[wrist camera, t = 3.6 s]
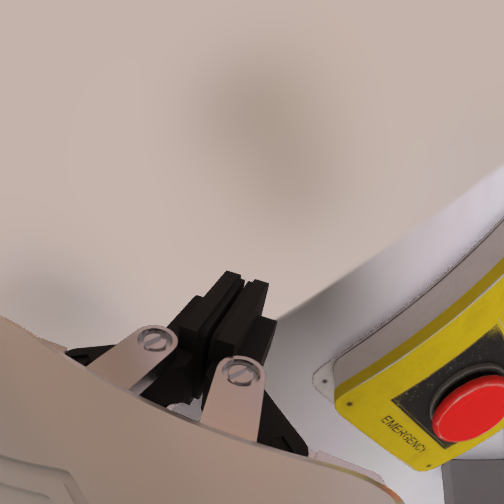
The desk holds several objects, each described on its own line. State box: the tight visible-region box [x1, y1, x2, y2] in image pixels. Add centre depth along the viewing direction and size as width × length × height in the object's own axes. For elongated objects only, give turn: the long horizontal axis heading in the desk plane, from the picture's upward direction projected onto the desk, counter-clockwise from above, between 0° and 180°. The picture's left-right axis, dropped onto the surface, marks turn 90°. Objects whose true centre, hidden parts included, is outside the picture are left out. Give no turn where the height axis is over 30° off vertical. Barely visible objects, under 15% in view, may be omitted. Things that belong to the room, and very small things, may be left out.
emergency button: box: [313, 217, 504, 471], centre depth 10 cm, size 9×4×15 cm
